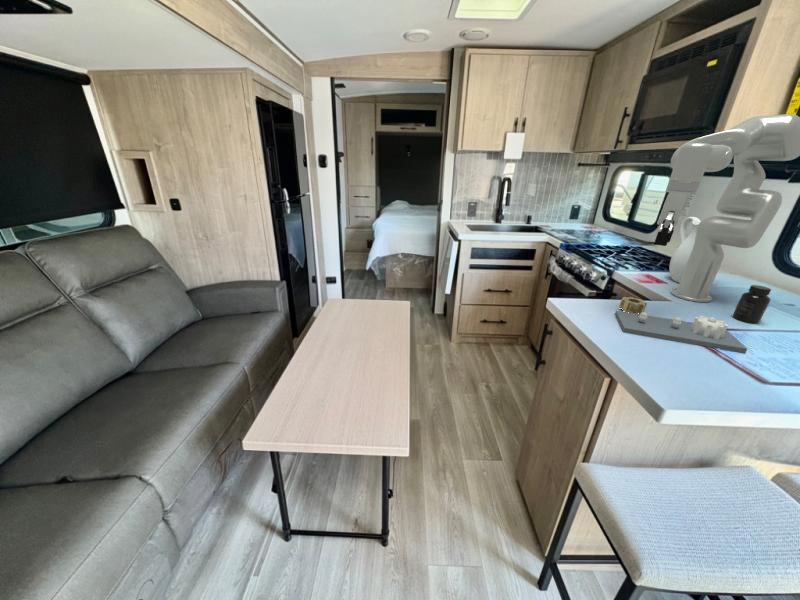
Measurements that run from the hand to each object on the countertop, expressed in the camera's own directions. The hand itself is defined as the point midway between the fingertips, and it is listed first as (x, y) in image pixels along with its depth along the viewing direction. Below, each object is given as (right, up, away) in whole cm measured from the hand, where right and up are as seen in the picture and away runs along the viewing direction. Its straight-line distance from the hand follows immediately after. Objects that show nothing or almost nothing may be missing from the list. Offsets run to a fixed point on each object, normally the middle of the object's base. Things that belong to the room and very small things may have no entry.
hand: (661, 243), depth 107 cm
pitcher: (+46, -9, +45) cm, 65 cm away
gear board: (+1, -29, -3) cm, 29 cm away
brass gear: (-2, -23, +11) cm, 25 cm away
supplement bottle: (+35, -26, +7) cm, 44 cm away
